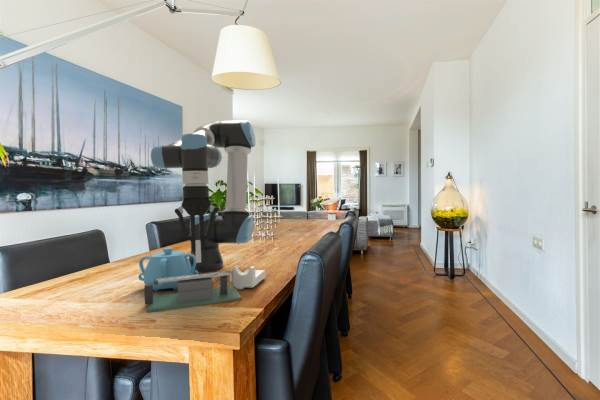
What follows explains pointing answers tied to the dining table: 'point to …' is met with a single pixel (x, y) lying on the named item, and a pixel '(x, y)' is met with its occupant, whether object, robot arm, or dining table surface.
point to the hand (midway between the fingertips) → (198, 261)
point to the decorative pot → (166, 267)
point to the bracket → (247, 277)
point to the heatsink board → (174, 300)
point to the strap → (193, 277)
